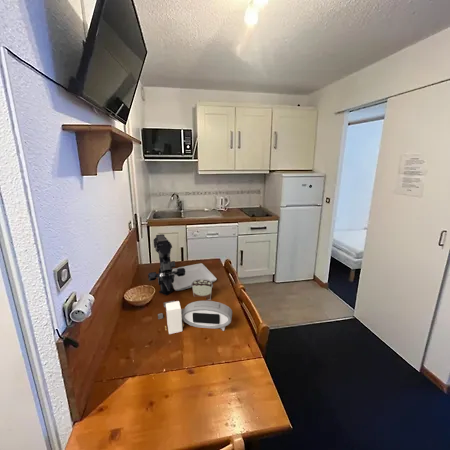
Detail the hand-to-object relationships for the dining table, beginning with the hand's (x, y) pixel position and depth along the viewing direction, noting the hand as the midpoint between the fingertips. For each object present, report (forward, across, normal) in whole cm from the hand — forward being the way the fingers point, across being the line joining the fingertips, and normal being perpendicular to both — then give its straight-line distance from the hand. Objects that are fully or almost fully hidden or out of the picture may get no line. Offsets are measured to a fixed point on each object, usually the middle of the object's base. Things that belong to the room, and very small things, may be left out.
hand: (169, 290), depth 128 cm
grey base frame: (+13, 0, +4) cm, 13 cm away
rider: (+19, 0, -5) cm, 20 cm away
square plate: (-13, +16, +31) cm, 37 cm away
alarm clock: (+22, +15, -4) cm, 27 cm away
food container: (+3, +20, +14) cm, 24 cm away
